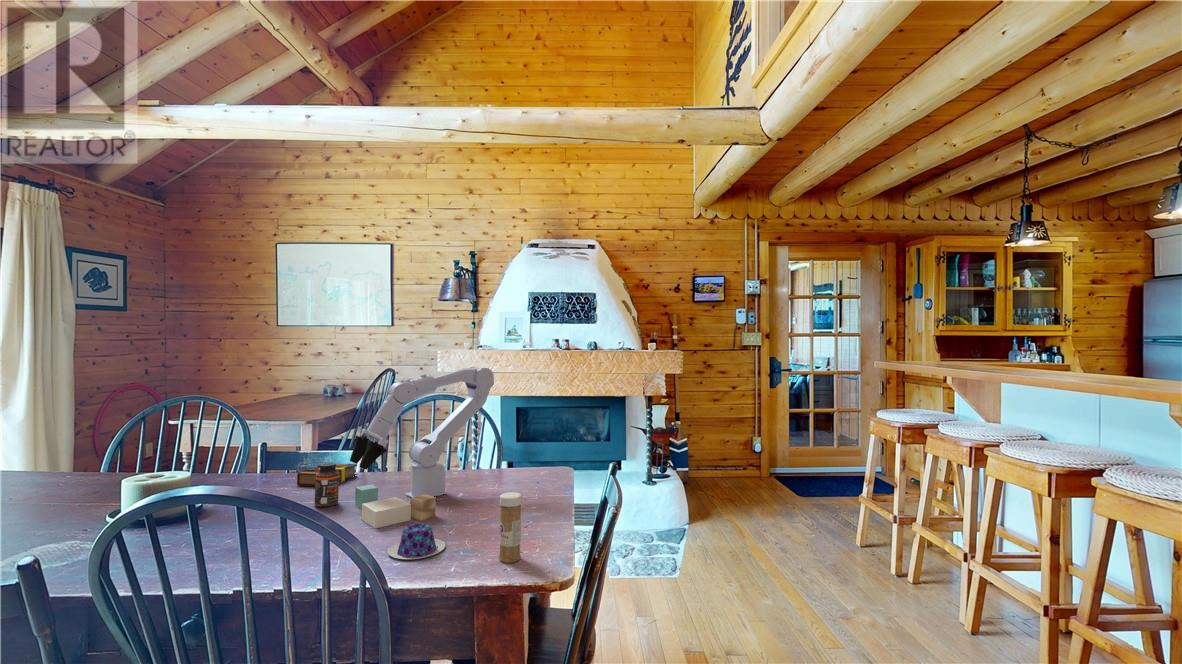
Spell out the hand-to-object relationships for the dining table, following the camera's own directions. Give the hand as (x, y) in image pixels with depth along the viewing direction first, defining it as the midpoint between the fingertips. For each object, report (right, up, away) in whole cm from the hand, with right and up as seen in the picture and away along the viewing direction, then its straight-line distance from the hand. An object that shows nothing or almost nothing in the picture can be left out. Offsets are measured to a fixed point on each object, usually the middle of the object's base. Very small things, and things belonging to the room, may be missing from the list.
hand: (357, 465), depth 141 cm
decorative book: (-22, -13, +28) cm, 38 cm away
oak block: (+21, -12, -8) cm, 25 cm away
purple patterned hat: (+27, -11, -30) cm, 41 cm away
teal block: (+2, -12, +2) cm, 12 cm away
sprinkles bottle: (+48, -11, -34) cm, 60 cm away
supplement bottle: (-10, -12, +2) cm, 15 cm away
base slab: (+12, -11, -10) cm, 19 cm away
